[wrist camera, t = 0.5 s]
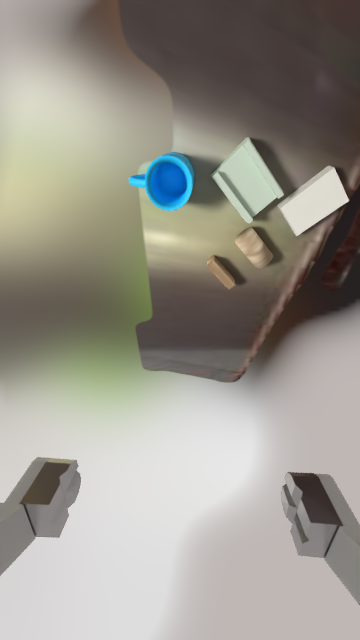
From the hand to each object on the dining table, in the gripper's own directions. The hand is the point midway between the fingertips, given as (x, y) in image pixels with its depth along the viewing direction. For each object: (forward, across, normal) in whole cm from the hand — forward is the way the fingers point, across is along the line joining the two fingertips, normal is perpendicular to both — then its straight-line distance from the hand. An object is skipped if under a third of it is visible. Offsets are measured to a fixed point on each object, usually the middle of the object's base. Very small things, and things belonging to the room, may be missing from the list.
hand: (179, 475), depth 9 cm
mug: (+46, +6, -18) cm, 50 cm away
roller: (+50, -14, -6) cm, 52 cm away
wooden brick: (+52, -8, 0) cm, 52 cm away
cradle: (+46, -10, -18) cm, 50 cm away
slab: (+47, -23, -14) cm, 54 cm away
